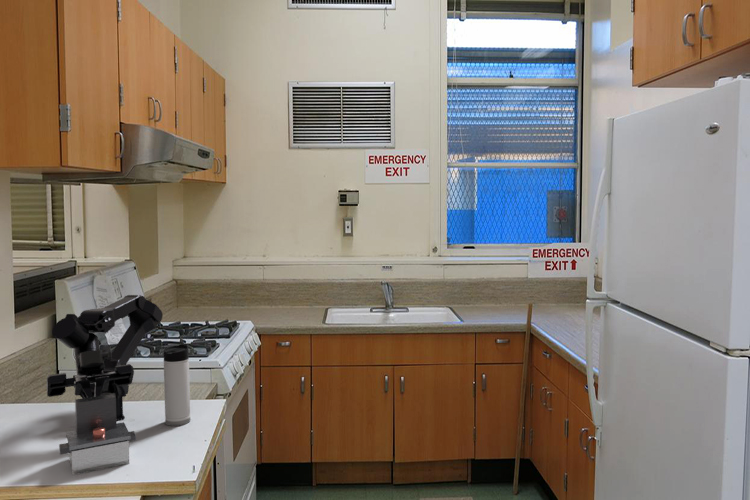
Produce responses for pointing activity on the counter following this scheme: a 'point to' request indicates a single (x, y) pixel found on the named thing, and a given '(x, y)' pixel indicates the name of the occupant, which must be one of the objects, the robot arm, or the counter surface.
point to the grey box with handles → (98, 455)
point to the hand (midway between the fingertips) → (95, 411)
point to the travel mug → (176, 385)
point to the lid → (96, 423)
